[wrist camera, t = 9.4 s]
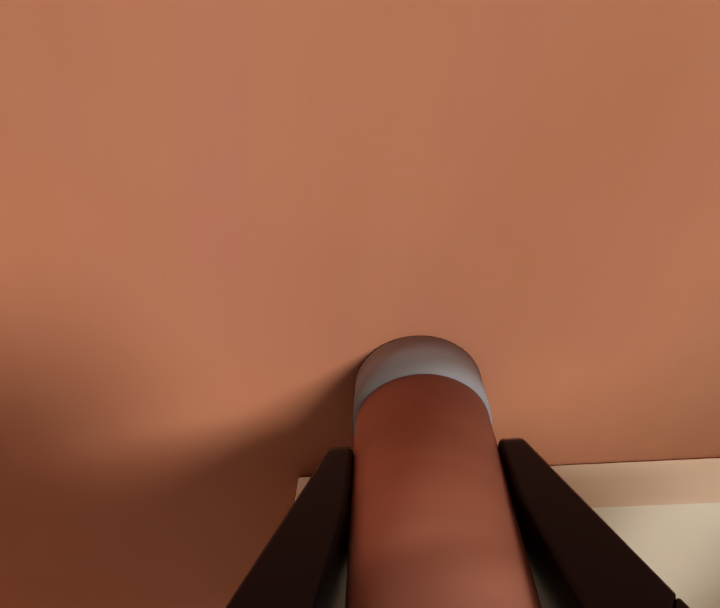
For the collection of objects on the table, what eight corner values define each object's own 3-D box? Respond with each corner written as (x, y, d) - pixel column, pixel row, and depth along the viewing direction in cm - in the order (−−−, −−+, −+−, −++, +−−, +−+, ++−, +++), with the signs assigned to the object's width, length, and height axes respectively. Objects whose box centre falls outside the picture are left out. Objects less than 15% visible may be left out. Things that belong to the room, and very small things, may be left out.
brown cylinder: (482, 331, 10) (696, 985, 3) (480, 432, 12) (631, 1051, 5) (348, 340, 11) (289, 974, 4) (361, 438, 12) (337, 1040, 5)
